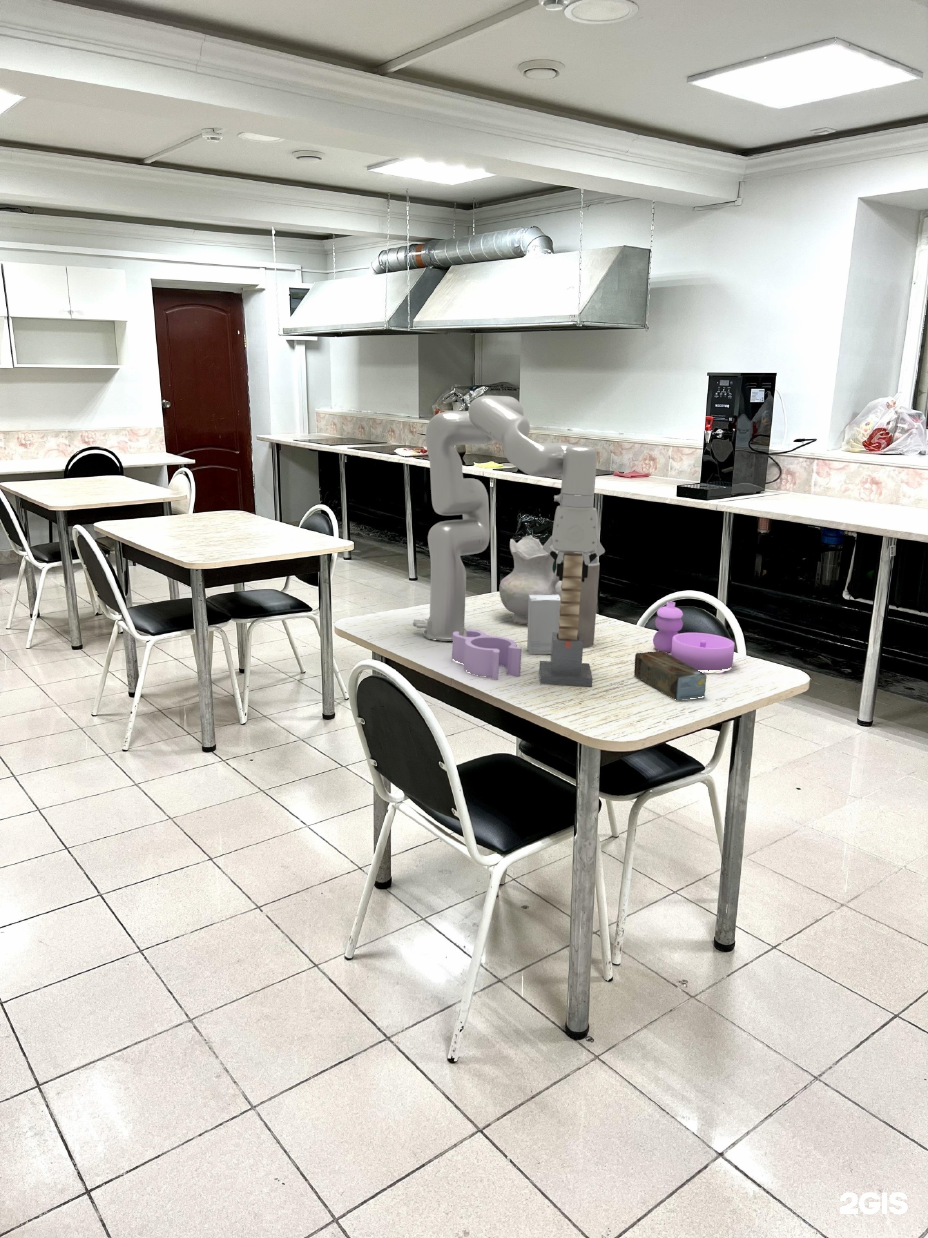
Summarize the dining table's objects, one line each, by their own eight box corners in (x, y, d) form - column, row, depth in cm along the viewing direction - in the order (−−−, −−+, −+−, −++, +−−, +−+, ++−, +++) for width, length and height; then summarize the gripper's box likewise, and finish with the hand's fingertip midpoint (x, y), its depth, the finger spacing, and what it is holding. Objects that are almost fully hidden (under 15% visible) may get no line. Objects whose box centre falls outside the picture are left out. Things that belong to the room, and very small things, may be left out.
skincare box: (556, 649, 241) (560, 594, 237) (560, 655, 235) (563, 599, 231) (525, 648, 240) (528, 593, 237) (527, 654, 235) (530, 598, 231)
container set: (744, 670, 229) (750, 619, 226) (697, 676, 222) (703, 624, 219) (679, 644, 250) (684, 597, 247) (634, 649, 244) (639, 601, 240)
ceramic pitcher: (581, 626, 269) (590, 542, 264) (542, 633, 254) (551, 544, 249) (523, 613, 282) (531, 533, 278) (483, 618, 268) (490, 534, 263)
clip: (439, 660, 227) (440, 633, 226) (480, 653, 234) (481, 627, 233) (486, 682, 212) (488, 654, 210) (528, 675, 219) (530, 647, 217)
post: (557, 656, 214) (564, 555, 208) (556, 651, 218) (563, 552, 212) (576, 657, 213) (583, 556, 207) (575, 652, 218) (582, 552, 212)
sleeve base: (540, 683, 212) (542, 642, 209) (539, 668, 223) (541, 629, 221) (591, 686, 211) (595, 645, 208) (588, 671, 222) (591, 631, 220)
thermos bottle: (563, 638, 251) (570, 537, 244) (593, 640, 250) (600, 539, 243) (564, 646, 243) (571, 542, 236) (594, 648, 243) (602, 544, 236)
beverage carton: (675, 702, 203) (678, 674, 202) (631, 676, 221) (633, 650, 219) (705, 699, 206) (708, 671, 204) (660, 674, 223) (662, 648, 222)
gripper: (539, 501, 203) (535, 581, 208) (615, 505, 203) (609, 585, 207) (539, 497, 211) (534, 575, 215) (612, 501, 210) (606, 578, 214)
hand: (571, 579), depth 211 cm, fingers closed on post, 4 cm apart
